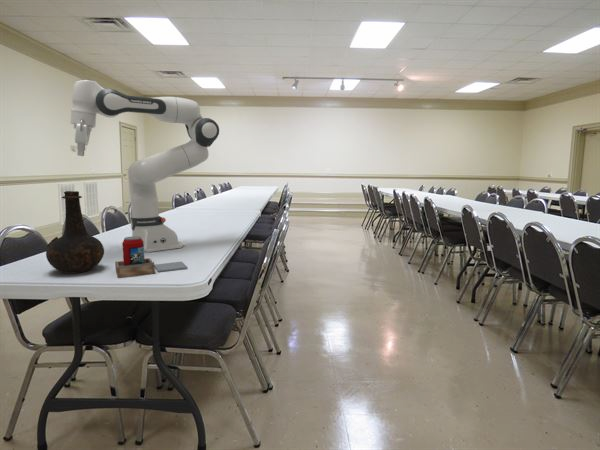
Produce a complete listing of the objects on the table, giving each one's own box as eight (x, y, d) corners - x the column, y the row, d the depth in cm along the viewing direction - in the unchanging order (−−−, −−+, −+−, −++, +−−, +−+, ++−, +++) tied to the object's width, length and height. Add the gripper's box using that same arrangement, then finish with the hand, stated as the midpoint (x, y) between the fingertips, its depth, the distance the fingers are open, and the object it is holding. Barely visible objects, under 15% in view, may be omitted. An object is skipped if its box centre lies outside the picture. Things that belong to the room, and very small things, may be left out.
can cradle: (150, 266, 148) (149, 256, 148) (154, 273, 138) (154, 262, 137) (115, 269, 143) (114, 259, 142) (117, 277, 133) (116, 266, 132)
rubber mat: (182, 263, 153) (181, 261, 152) (187, 268, 144) (187, 267, 144) (154, 266, 148) (154, 264, 148) (158, 272, 139) (158, 270, 139)
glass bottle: (58, 265, 150) (51, 190, 146) (110, 262, 154) (104, 189, 150) (39, 278, 132) (30, 193, 128) (98, 275, 136) (91, 192, 132)
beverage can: (137, 274, 136) (135, 239, 135) (120, 273, 138) (117, 239, 136) (149, 269, 143) (147, 236, 141) (132, 268, 144) (129, 235, 143)
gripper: (91, 120, 153) (88, 156, 155) (92, 124, 172) (90, 157, 173) (72, 117, 151) (69, 154, 152) (76, 121, 169) (73, 155, 170)
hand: (80, 155), depth 163 cm, fingers open, 8 cm apart
